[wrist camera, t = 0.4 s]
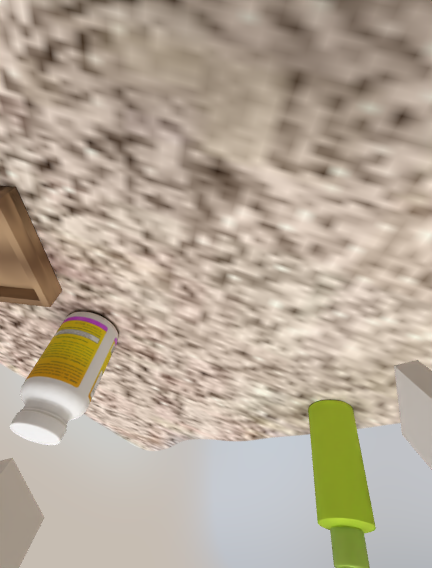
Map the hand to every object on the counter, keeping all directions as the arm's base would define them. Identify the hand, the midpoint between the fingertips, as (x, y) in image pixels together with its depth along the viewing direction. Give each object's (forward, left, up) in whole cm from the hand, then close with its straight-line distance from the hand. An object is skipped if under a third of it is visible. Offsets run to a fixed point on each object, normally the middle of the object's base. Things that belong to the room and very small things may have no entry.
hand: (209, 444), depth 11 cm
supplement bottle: (+19, -17, -19) cm, 32 cm away
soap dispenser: (+32, +14, -19) cm, 39 cm away
